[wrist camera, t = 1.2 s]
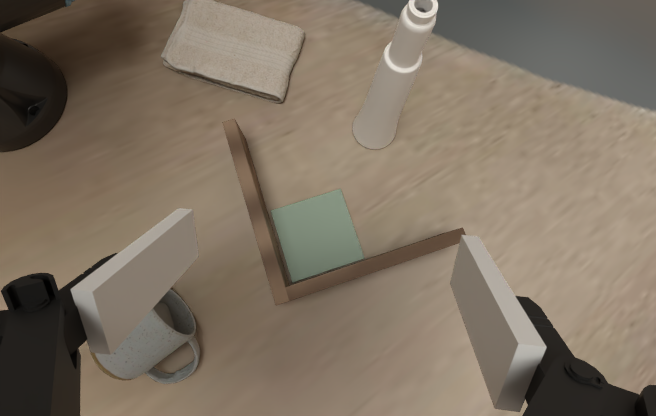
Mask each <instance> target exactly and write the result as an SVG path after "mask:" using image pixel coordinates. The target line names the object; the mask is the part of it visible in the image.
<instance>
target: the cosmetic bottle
mask: <svg viewBox="0 0 656 416" xmlns="http://www.w3.org/2000/svg"><path fill="white" fill-rule="evenodd" d="M437 10H438V3H437V0H409V2H408V4H407V5H406V6H405V7H404V9H403V10H402V12H401V15H400V18H399V21H398V24H397V28H396V31H395V34H394V37H393V40H392V41H391V42H390V43H389V44H388V45H387V46H386V48H385V50H384V52H383V55H382V57H381V60H380V62H379V65H378V68H377V70H376V73H375V75H374V78H373V81H372V84H371V86H370V89H369V92H368V94H367V97H366V99H365V102H364V104H363V106H362V108H361V110H360V112H359V113H358V115H357V116H356V117H355V119H354V122H353V127H352V128H353V134H354V137H355V138H356V140H357V141H358V142H359V143H360V144H361V145H362V146H364V147H366V148H369V149H381V148H384V147H386V146H387V145H389V144H390V143H391V142H392V141H393V139H394V137H395V134H396V128H397V123H398V120H399V117H400V114H401V112H402V109H403V107H404V104H405V102H406V99H407V97H408V95H409V92H410V90H411V88H412V85H413V83H414V81H415V78H416V76H417V73H418V71H419V68H420V65H421V63H422V50H423V48H424V46H425V44H426V42H427V40H428V38H429V36H430V33H431V31H432V29H433V27H434V25H435V22H436V12H437Z"/></svg>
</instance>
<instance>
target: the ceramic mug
mask: <svg viewBox="0 0 656 416" xmlns="http://www.w3.org/2000/svg"><path fill="white" fill-rule="evenodd" d="M195 333H196V322H195V319H194V316H193V314H192V313H191V311H190V309H189V307H188V306H187V305H186V303H185V302H184V301H183V300H182V298H180V296H179V295H178V294H176V293H175V292H174V291H173V290H171V289H169V291H168V292H167V293H166V294H165V295H164V296H163V297H162V298H161V299H160V301H159V302H158V303H157V304H156V305H155V306H154V307H153V308H152V310H151V311H150V312H149V313H148V314H147V315H146V316H145V317H144V319H143V320H142V321H141V322H140V323H139V324H138V325H137V326H136V327H135V329H134V330H133V331H132V332H131V333H130V334H129V335H128V336H127V338H126V339H125V340H124V341H123V342H122V343H121V344H120V345H119V347H118V348H117V349H116V350H115V351H114V352H113V353H112V354H111V355H106V354H99V353H92V352H91V355H92V357H93V359H94V361H95V363H96V364H97V366H98V367H99V368H100V369H101V370H102V371H103V372H104V373H106V374H107V375H109V376H110V377H113V378H115V379H119V380H131V379H134V378H137V377H138V376H140V375H142V374H144V373H146V374H147V376H149V377H150V378H151V379H153V380H154V381H157V382H160V383H163V384H171V383H176V382H179V381H181V380H184V379H185V378H187V377H188V376H189V375H191V374H192V373H193V372H194V371H195V369H196V368H197V365H198V363H199V357H200V348H199V345H198V342H197V341H196V339H195V337H194V334H195ZM185 342H188V343H189V344H190V345H191V347H192V349H193V351H194V354H195V359H194V361H193V362H192V363H190V364H189V365H187V366H186V367H185V368H183V369H181V370H178V371H176V372H175V373H174V374H168V373H163V372H162V371H159V370H157V369H156V368H154V366H155V365H156V364H157V363H159V362H160V361H161V360H162V359H164V358H165V357H166V356H168V355H169V354H171V353H172V352H174V351H175V350H176V349H177V348H179V347H180V346H181V345H183V344H184V343H185Z"/></svg>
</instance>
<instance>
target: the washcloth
mask: <svg viewBox="0 0 656 416" xmlns="http://www.w3.org/2000/svg"><path fill="white" fill-rule="evenodd" d="M304 36H305V33H304V31H303V30H302V29H300V28H299V26H293V25H291V24H288V23H286V22H285V23H284V22H281V21H276V20H274V19H273V18H268V17H264V16H262V15H259V14H256V13H253V12H252V11H251V12H250V11H246V10H244V9H240V8H237V7H233V6H229V5H226V4H223V3H219V2H216V1H214V0H186V1H184V3H183V10H182V13H181V16H180V18H179V20H178V21H177V23H176V25H175V28H174V30H173V32H172V34H171V36H170V37H169V39H168V42H167V44H166V46H165V48H164V51H163V53H162V54H161V58H162V59H164V61H163V65H164V66H165V67H168V68H170V69H173V70H175V71H176V72H178V73H180V74H181V73H182V74H183V75H187V76H188V77H190V78H193V79H196V80H199V81H203V82H206V83H209V84H213V85H216V86H219V87H222V88H226V89H229V90H232V91H236V92H239V93H243V94H247V95H250V96H253V97H256V98H259V99H263V100H266V101H269V102H274V103H281V102H283V99H284V98H285V94H286V91H287V88H288V83H289V80H290V79H289V75H290V73H291V70H292V68H293V65H294V64H295V63H296V61H297V58H298V55H299V52H300V49H301V48H302V43H303V40H304Z"/></svg>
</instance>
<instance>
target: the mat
mask: <svg viewBox="0 0 656 416" xmlns="http://www.w3.org/2000/svg"><path fill="white" fill-rule="evenodd" d="M271 214H272V217H273V220H274V223H275V227H276V230H277V233H278V237H279V240H280V243H281V246H282V250H283V253H284V256H285V260H286V263H287V266H288V269H289V273H290V276H291V279H292V283H293V282H296V281H299V280H302V279H305V278H308V277H311V276H314V275H317V274H320V273H322V272H325V271H328V270H331V269H334V268H337V267H340V266H343V265H346V264H349V263H352V262H355V261H358V260H361V259H364V255H363V252H362V249H361V246H360V244H359V241H358V238H357V235H356V232H355V229H354V226H353V223H352V220H351V218H350V215H349V212H348V209H347V206H346V203H345V200H344V197H343V194H342V192H341V189H338V190H335V191H332V192H329V193H325V194H322V195H319V196H316V197H313V198H309V199H306V200H303V201H300V202H297V203H294V204H290V205H287V206H284V207H281V208H278V209H275V210H271Z"/></svg>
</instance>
